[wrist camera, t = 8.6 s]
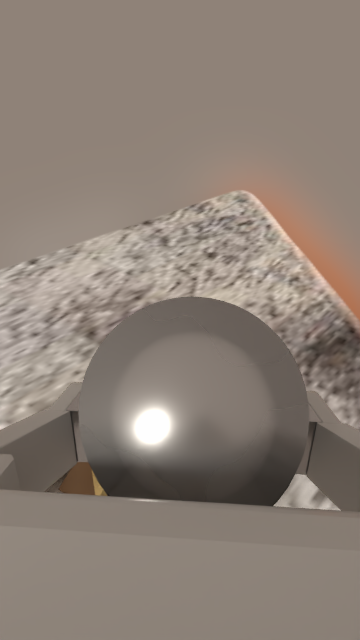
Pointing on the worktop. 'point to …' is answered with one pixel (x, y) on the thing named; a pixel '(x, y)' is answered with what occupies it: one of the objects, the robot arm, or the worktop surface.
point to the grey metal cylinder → (194, 406)
